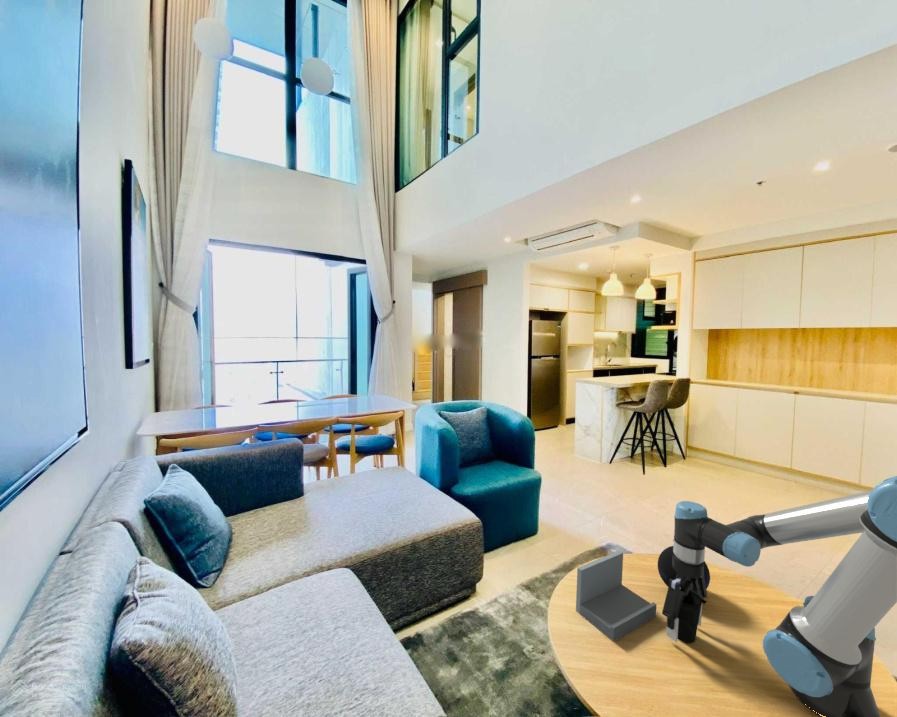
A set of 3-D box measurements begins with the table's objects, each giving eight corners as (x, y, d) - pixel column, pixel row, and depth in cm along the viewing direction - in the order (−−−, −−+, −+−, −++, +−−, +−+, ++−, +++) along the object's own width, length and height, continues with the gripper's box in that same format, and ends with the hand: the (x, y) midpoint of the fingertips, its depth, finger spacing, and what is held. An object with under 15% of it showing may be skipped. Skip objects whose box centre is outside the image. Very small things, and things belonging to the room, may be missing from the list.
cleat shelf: (655, 616, 116) (658, 573, 115) (613, 641, 106) (615, 594, 105) (617, 590, 127) (619, 550, 127) (575, 610, 118) (577, 567, 117)
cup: (667, 637, 108) (669, 597, 107) (669, 621, 114) (671, 583, 113) (699, 651, 103) (701, 609, 102) (699, 633, 110) (702, 593, 109)
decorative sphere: (695, 614, 117) (698, 567, 116) (647, 586, 130) (649, 544, 129) (716, 596, 125) (719, 553, 124) (670, 572, 138) (672, 532, 137)
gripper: (697, 540, 116) (693, 607, 118) (650, 562, 105) (646, 636, 106) (724, 552, 110) (719, 623, 111) (677, 577, 98) (673, 656, 99)
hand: (683, 630), depth 108 cm, fingers open, 11 cm apart
